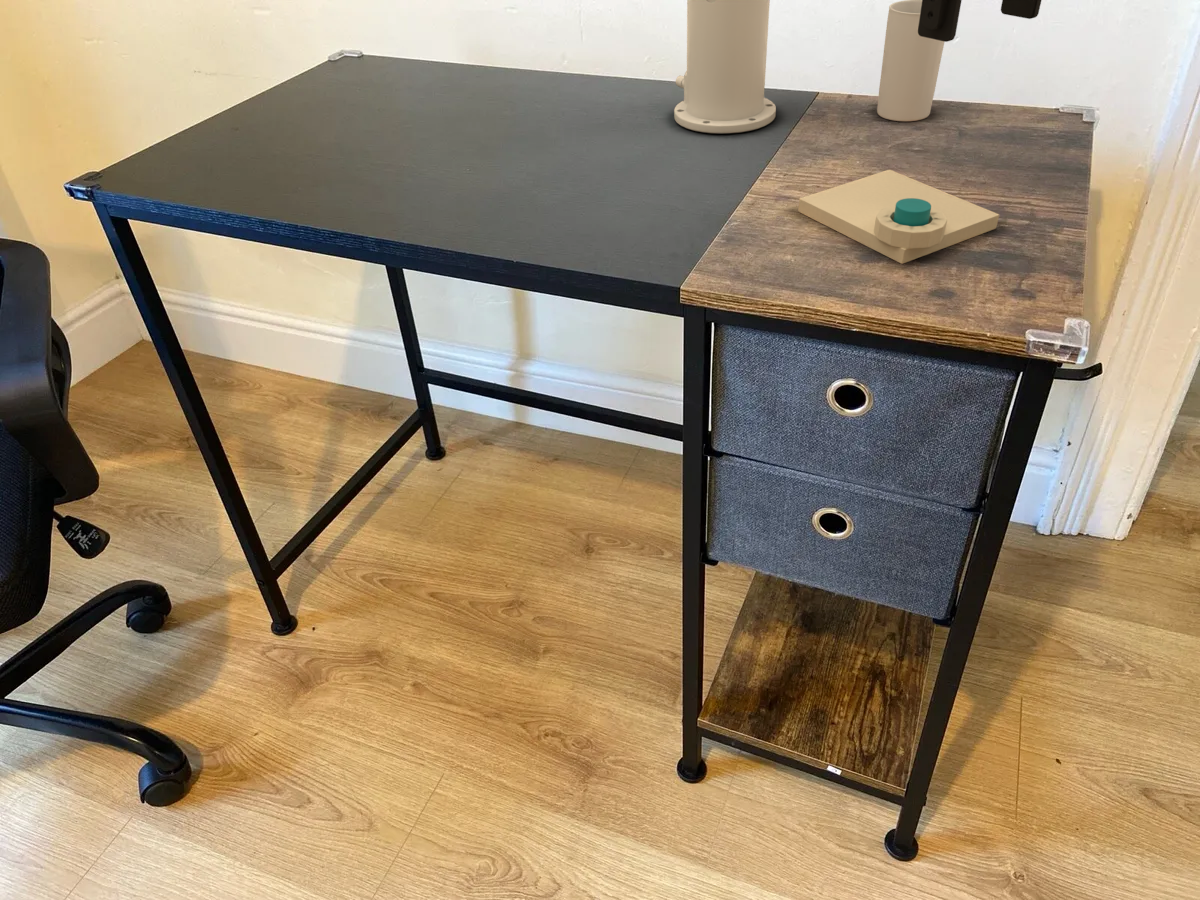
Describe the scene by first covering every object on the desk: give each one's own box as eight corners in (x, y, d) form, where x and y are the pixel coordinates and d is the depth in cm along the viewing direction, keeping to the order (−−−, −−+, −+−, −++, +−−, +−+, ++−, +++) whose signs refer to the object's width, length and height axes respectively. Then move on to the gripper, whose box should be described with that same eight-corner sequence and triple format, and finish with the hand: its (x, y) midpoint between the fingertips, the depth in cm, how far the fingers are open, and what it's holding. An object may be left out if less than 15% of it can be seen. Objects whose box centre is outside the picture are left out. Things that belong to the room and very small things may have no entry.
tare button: (886, 220, 79) (888, 203, 78) (910, 211, 80) (913, 195, 79) (910, 231, 77) (913, 214, 76) (935, 222, 78) (938, 206, 77)
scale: (794, 212, 87) (797, 183, 85) (887, 182, 92) (891, 154, 90) (906, 269, 77) (912, 237, 75) (1004, 232, 81) (1012, 201, 80)
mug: (923, 125, 104) (942, 15, 96) (867, 118, 107) (881, 11, 99) (944, 100, 110) (964, -5, 103) (891, 94, 113) (906, -9, 106)
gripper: (1061, -251, 66) (1010, 1, 76) (896, -235, 59) (864, 39, 69) (1158, -256, 60) (1088, 15, 71) (989, -240, 54) (940, 57, 64)
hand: (978, 26), depth 70 cm, fingers open, 9 cm apart
